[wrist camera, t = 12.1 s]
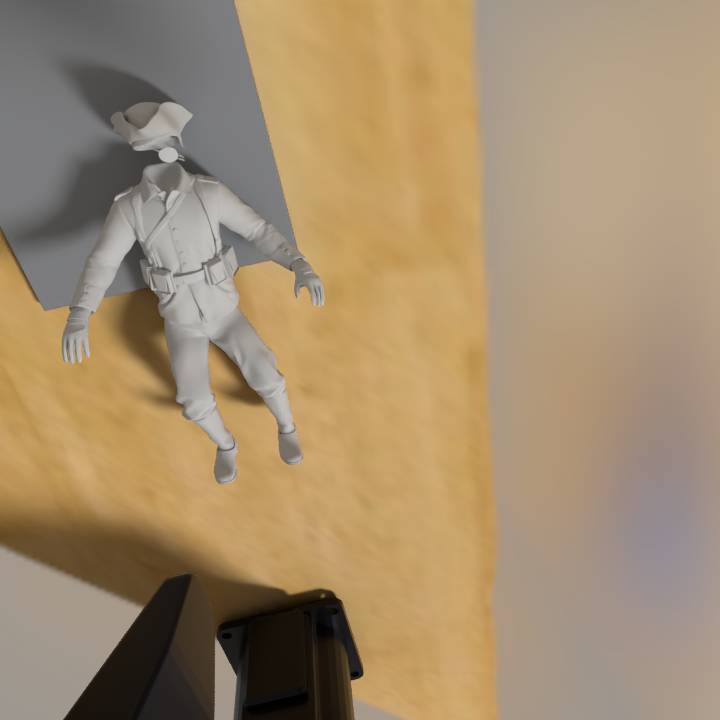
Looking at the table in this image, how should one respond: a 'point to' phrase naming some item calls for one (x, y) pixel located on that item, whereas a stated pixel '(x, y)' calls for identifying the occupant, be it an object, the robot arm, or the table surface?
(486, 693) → the table surface
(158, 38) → the board
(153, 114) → the soldier figure
